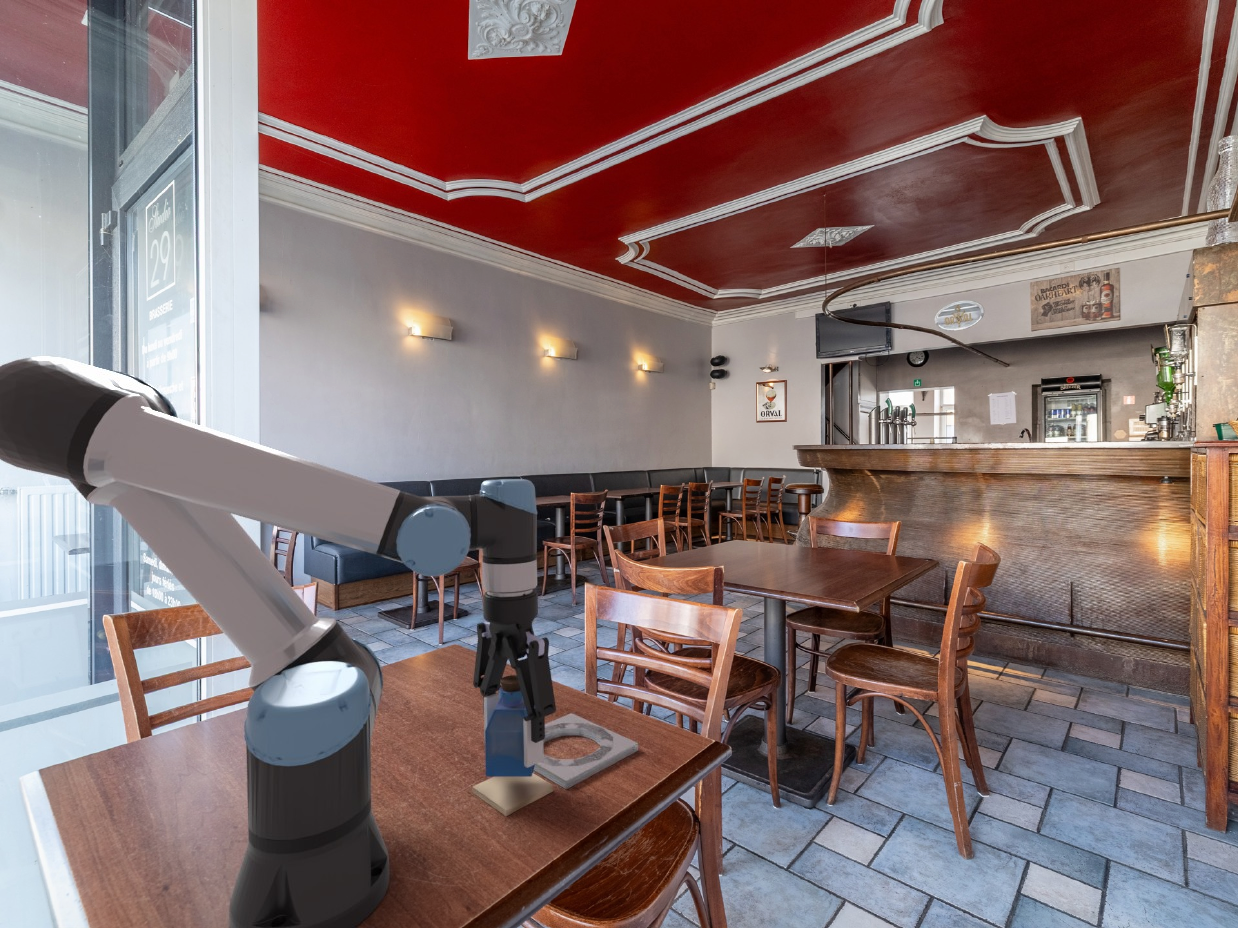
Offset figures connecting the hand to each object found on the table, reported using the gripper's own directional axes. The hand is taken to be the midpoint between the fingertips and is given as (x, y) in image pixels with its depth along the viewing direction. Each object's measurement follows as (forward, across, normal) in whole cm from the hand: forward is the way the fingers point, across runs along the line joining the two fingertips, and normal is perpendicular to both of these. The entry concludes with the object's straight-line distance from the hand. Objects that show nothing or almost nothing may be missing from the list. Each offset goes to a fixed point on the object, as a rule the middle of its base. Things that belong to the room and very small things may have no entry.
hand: (513, 750), depth 83 cm
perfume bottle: (+2, 0, 0) cm, 2 cm away
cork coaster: (+6, 0, 0) cm, 6 cm away
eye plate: (+6, +3, -13) cm, 14 cm away
